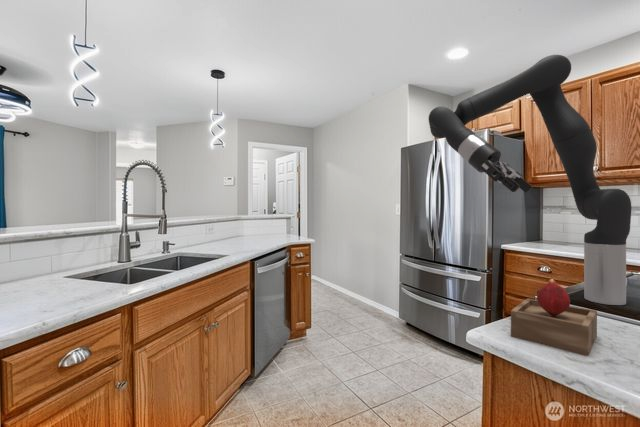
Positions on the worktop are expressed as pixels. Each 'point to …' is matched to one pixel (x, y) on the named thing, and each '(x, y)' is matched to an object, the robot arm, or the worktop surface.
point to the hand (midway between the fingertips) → (523, 189)
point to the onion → (553, 298)
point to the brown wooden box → (555, 327)
